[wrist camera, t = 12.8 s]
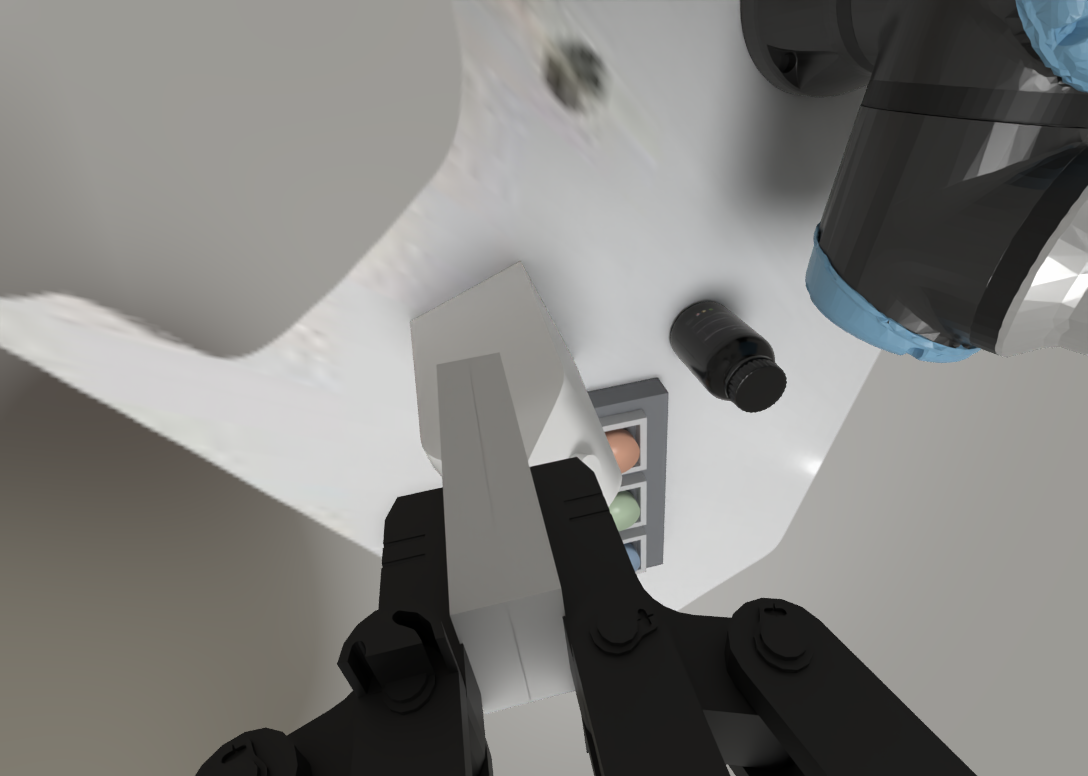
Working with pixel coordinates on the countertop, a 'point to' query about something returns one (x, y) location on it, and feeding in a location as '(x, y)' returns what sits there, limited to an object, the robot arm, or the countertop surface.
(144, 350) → the countertop surface
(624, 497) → the button sage
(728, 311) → the supplement bottle
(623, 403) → the panel
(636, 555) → the button slate
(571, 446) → the milk
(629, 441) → the button terracotta
